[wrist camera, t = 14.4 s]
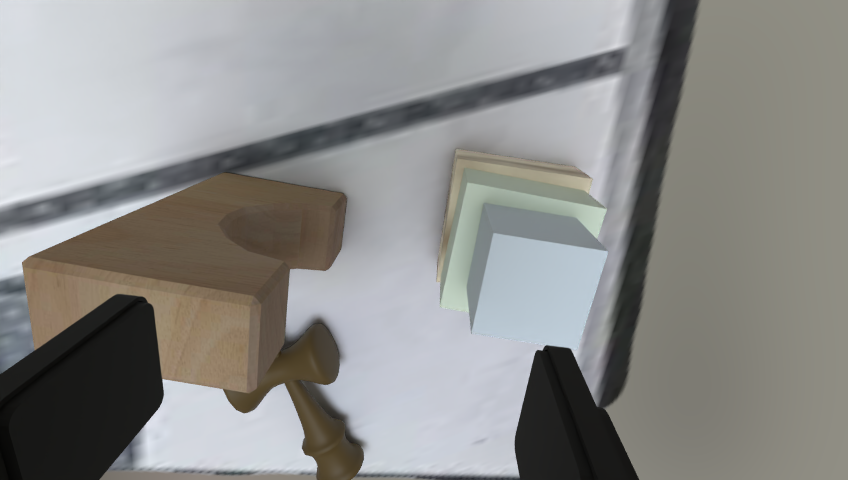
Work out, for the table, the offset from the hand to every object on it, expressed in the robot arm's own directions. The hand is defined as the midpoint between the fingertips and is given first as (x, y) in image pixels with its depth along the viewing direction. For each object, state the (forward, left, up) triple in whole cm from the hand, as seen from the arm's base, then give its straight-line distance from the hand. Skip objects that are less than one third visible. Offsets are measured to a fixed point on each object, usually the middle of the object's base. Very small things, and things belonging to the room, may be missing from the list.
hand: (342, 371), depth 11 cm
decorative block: (+6, -11, -29) cm, 31 cm away
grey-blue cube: (+3, +8, -19) cm, 21 cm away
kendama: (+23, -8, -29) cm, 38 cm away
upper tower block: (+4, +8, -24) cm, 26 cm away
